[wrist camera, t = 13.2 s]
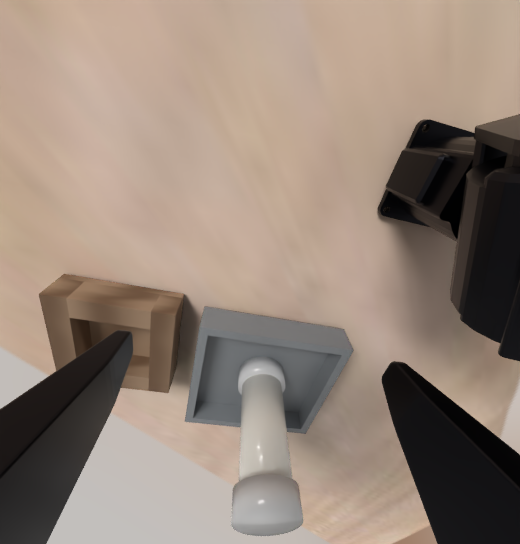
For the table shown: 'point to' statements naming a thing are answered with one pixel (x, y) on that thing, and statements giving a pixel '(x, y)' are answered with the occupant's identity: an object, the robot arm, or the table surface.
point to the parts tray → (263, 343)
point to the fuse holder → (115, 325)
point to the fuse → (264, 455)
